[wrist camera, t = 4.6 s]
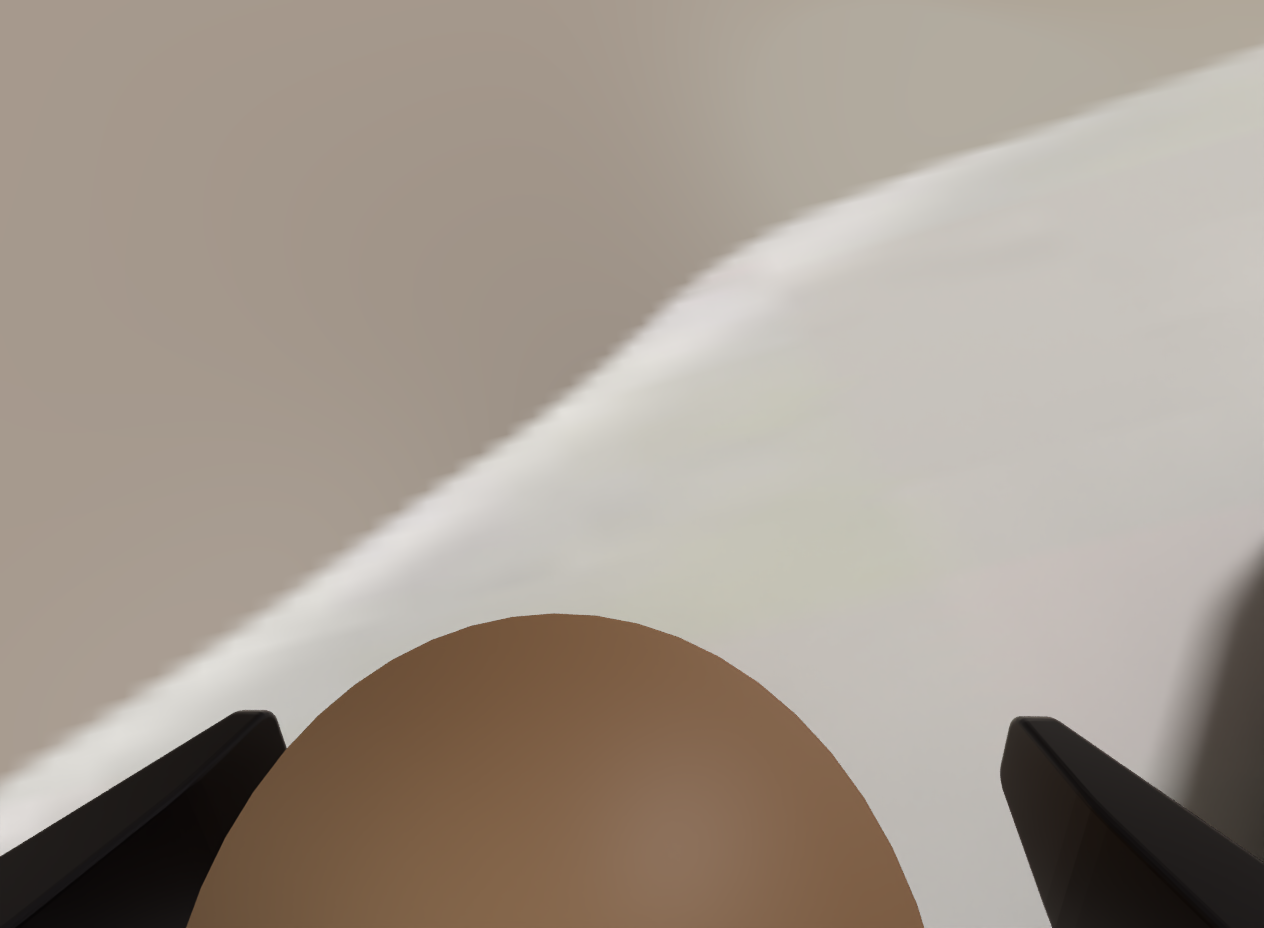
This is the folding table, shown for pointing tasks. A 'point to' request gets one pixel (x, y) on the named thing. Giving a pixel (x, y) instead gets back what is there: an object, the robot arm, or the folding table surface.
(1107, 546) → the folding table surface
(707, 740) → the walnut part
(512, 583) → the folding table surface
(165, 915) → the robot arm
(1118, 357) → the folding table surface
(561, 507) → the folding table surface
